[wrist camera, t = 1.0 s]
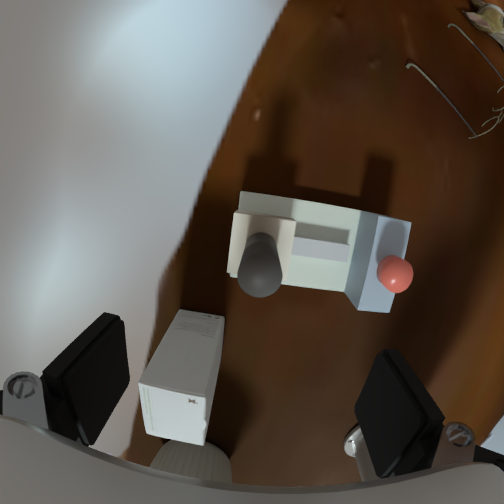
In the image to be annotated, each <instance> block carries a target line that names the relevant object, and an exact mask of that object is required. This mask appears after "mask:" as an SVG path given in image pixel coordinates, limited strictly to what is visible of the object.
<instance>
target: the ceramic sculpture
mask: <svg viewBox="0 0 504 504" xmlns="http://www.w3.org/2000/svg"><path fill="white" fill-rule="evenodd" d="M471 2H472V4H473V5H474V6H475V8H476V9H477V10H478V12H477V13H474V12H465V11H463V10H462V12H463V14H464V15H465V16H466V17H467V19H468V20H469V21H470V22H471V23H472V24H473V25H474V26H475V27H476V28H478V29H479V30H482V31H484V32H486V33H488V34H489V35H490V36H491V37H493V38H494V39H495V40H496V41H498V42H499V43H500V44H501V45H502V46H503V50H504V11H503V10H501V9H500V8H499V7H498V6H496V5H493V4H489V3H487V4H486V3H485V2H484V1H482V0H471Z"/></svg>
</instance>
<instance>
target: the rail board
mask: <svg viewBox="0 0 504 504" xmlns="http://www.w3.org/2000/svg"><path fill="white" fill-rule="evenodd" d="M238 210H239V211H247V212H254V213H261V214H268V215H275V216H282V217H288V218H293V219H294V220H295V221H296V227H295V234H294V240H293V246H292V252H291V258H290V263H289V269H288V275H287V280H286V281H283V280H282V282H281V284H286V285H293V286H301V287H309V288H317V289H325V290H334V291H342V292H345V294H346V295H347V296H348V298H349V299H350V301H351V302H352V303H353V305H354V306H355V307H356V309H357V310H362V311H374V312H386V313H389V312H390V309H391V305H392V302H393V299H394V295H395V293H393V292H390V291H389V290H388V289H387V288H386V287H384V286H383V285H382V284H381V283H380V282H379V280H378V278H377V267H378V265H379V263H380V261H381V260H382V259H383V258H385V257H386V256H389V255H396V256H398V257H400V258H402V259H404V256H405V252H406V247H407V243H408V238H409V233H410V228H411V223H410V222H407V221H403V220H400V219H396V218H393V217H389V216H385V215H381V214H376V213H371V212H366V211H361V210H356V209H351V208H346V207H340V206H335V205H329V204H323V203H318V202H312V201H306V200H300V199H293V198H287V197H280V196H274V195H267V194H260V193H252V192H245V191H241V192H240V200H239V208H238ZM230 277H235V278H237V274H232V273H230Z"/></svg>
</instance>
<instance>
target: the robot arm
mask: <svg viewBox="0 0 504 504" xmlns="http://www.w3.org/2000/svg"><path fill="white" fill-rule="evenodd" d="M129 381H130V375H129V367H128V358H127V349H126V339H125V327H124V322H123V321H122V320H121V319H120V317H119V316H118V315H114V314H110V313H106V312H104V313H103V314H102V315H101V316H99V317H98V318H97V319H96V320H95V321H94V322H93V323H92V324H91V325H90V326H89V327H88V328H87V329H86V330H84V331H83V332H82V333H81V334H80V335H79V336H78V337H77V338H76V339H75V340H74V341H73V342H72V343H71V344H70V345H69V346H68V347H67V348H66V349H65V350H63V351H62V353H61V354H59V355H58V356H57V357H56V358H55V359H54V361H52V362H51V363H50V364H49V365H48V366H47V367H46V368H45V369H44V370H43V375H42V376H41V377H40V378H39V377H38V376H37V375H35V374H33V373H30V372H17V373H15V374H12V375H11V376H9V377H8V378H7V379H6V381H5V382H4V386H3V390H0V504H504V455H502V454H499V453H496V452H493V451H491V450H488V449H485V448H483V447H480V446H477V445H475V443H476V437H475V434H474V432H473V431H472V429H471V428H470V427H469V426H467V425H466V424H463V423H461V422H450V423H447V424H446V425H445V426H444V425H443V423H442V422H443V421H444V419H445V417H444V415H443V414H442V412H441V411H440V409H439V408H438V406H437V405H436V403H435V402H434V400H433V399H432V397H431V396H430V394H429V393H428V391H427V390H426V388H425V387H424V385H423V384H422V383H421V381H420V380H419V378H418V377H417V375H416V374H415V373H414V371H413V370H412V368H411V367H410V366H409V364H408V363H407V361H406V360H405V359H404V357H403V356H402V355H401V353H400V352H399V351H398V350H396V349H384V350H382V351H381V353H378V354H377V356H376V358H375V361H374V363H373V366H372V368H371V371H370V373H369V375H368V378H367V380H366V382H365V385H364V387H363V389H362V391H361V394H360V396H359V398H358V400H357V402H356V404H355V414H356V417H357V420H358V423H359V425H358V426H357V427H355V428H354V429H353V430H352V431H351V432H350V433H349V434H348V435H347V437H346V438H345V440H344V449H345V452H346V453H347V454H348V455H350V456H352V457H355V458H356V461H357V465H358V469H359V472H360V476H361V479H362V482H357V483H349V484H339V485H327V486H304V487H277V486H255V485H243V484H233V483H224V482H217V481H210V480H204V479H198V478H193V477H187V476H182V475H178V474H173V473H169V472H164V471H160V470H157V469H153V468H149V467H145V466H142V465H139V464H135V463H132V462H129V461H126V460H123V459H120V458H117V457H114V456H111V455H108V454H106V453H103V452H100V451H98V450H95V449H92V448H90V447H88V446H89V445H93V444H94V443H95V441H96V440H97V438H98V436H99V435H100V433H101V431H102V429H103V427H104V426H105V424H106V422H107V420H108V419H109V417H110V415H111V413H112V412H113V410H114V408H115V407H116V405H117V403H118V402H119V400H120V398H121V396H122V395H123V393H124V391H125V390H126V388H127V386H128V384H129Z"/></svg>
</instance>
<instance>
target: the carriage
mask: <svg viewBox="0 0 504 504" xmlns="http://www.w3.org/2000/svg"><path fill="white" fill-rule="evenodd" d="M295 227H296V221H295V220H294V219H293V218H288V217H282V216H275V215H268V214H261V213H254V212H247V211H239V210H237V211H235V212H234V217H233V225H232V233H231V241H230V249H229V258H228V266H227V273H232V274H237V279H238V283H239V285H240V287H241V288H242V289H243V290H244V291H245V292H246V293H247V294H249V295H251V296H254V297H266V296H269V295H271V294H273V293H274V292H275V291H276V290H277V289H278V288H279V287H280V285H281V282H282V280H283V281H286V280H287V275H288V269H289V263H290V258H291V252H292V246H293V240H294V234H295Z"/></svg>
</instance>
